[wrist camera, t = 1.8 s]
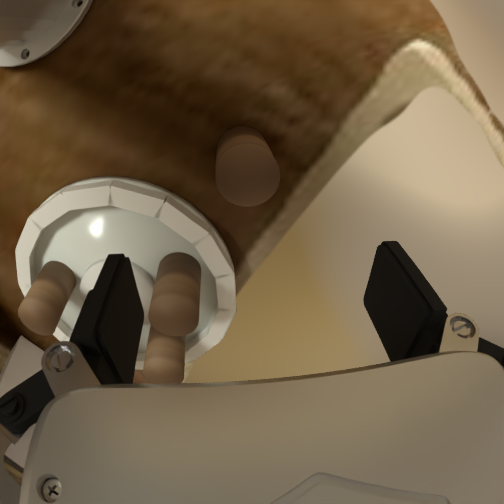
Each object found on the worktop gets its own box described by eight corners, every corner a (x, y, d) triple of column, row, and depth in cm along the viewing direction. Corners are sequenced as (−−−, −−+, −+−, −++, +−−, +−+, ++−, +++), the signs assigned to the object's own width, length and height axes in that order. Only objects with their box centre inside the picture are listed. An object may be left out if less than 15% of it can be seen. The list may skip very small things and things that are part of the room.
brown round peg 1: (154, 253, 27) (142, 301, 22) (198, 250, 27) (195, 298, 22) (162, 287, 29) (154, 337, 24) (203, 285, 29) (201, 335, 24)
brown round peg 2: (146, 315, 31) (137, 363, 26) (183, 314, 31) (179, 363, 26) (154, 340, 33) (148, 386, 28) (189, 339, 33) (187, 386, 28)
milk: (56, 358, 35) (20, 508, 17) (43, 372, 37) (10, 506, 19) (20, 333, 33) (-31, 484, 14) (9, 350, 34) (-34, 484, 16)
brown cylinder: (37, 261, 26) (11, 303, 21) (68, 259, 26) (44, 303, 21) (50, 292, 28) (29, 334, 23) (81, 291, 28) (62, 336, 23)
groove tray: (-3, 194, 23) (-15, 205, 21) (229, 163, 24) (229, 173, 22) (69, 353, 35) (64, 366, 33) (240, 351, 36) (241, 366, 34)
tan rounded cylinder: (215, 127, 22) (213, 148, 17) (266, 125, 23) (281, 145, 18) (217, 174, 24) (217, 208, 19) (266, 172, 25) (279, 205, 20)
